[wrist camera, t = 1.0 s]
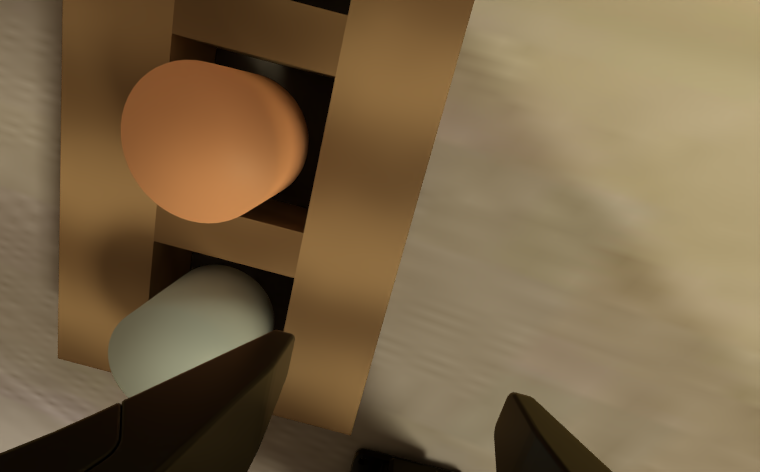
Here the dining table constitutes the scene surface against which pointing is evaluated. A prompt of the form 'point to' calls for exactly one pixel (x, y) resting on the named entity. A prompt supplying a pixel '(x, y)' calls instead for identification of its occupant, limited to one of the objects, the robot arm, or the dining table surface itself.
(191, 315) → the sage green rounded cylinder
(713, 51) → the dining table surface
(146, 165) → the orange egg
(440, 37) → the wooden compartment tray
